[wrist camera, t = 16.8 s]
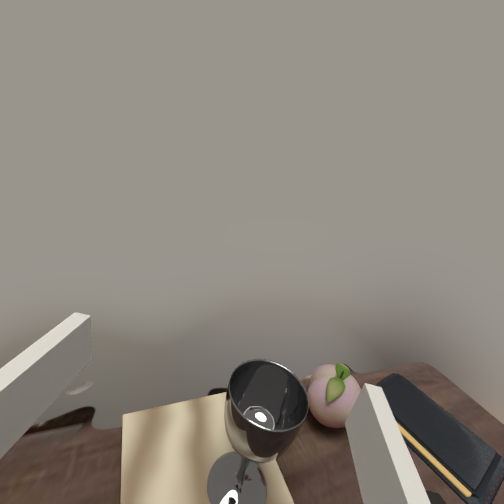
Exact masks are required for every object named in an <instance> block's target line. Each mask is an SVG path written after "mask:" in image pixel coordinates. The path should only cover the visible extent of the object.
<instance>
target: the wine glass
mask: <svg viewBox="0 0 504 504" xmlns="http://www.w3.org/2000/svg"><path fill="white" fill-rule="evenodd" d="M308 408H309V400H308V394H307V392H306V389H305V387H304V385H303V384H302V382H301V381H300V379H299V378H298V377H297V376H296V375H295V374H294V373H293V372H292V371H290V370H289V369H288V368H286V367H285V366H283V365H281V364H279V363H277V362H274V361H270V360H266V359H253V360H249V361H246V362H243V363H242V364H240V365H239V366H238V367H237V368H235V370H234V371H233V373H232V375H231V378H230V380H229V384H228V388H227V393H226V398H225V406H224V424H225V430H226V435H227V438H228V440H229V443H230V444H231V446H232V448H233V449H234V450H235V451H233V452H228V453H226V454H224V455H222V456H220V457H219V458H218V459H217V460H216V461H215V463H214V464H213V466H212V467H211V469H210V472H209V475H208V480H207V492H208V497H209V501H210V503H211V504H265V503H266V499H267V483H266V479H265V475H264V473H263V470H262V469H261V467H260V465H259V464H258V463H269V462H271V461H273V460H275V459H277V458H278V457H280V456H281V455H282V454H283V453H284V452H285V451H286V450H287V449H288V448H289V447H290V445H291V444H292V443H293V441H294V440H295V439H296V437H297V435H298V433H299V431H300V429H301V427H302V425H303V423H304V420H305V418H306V416H307V412H308Z"/></svg>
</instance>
